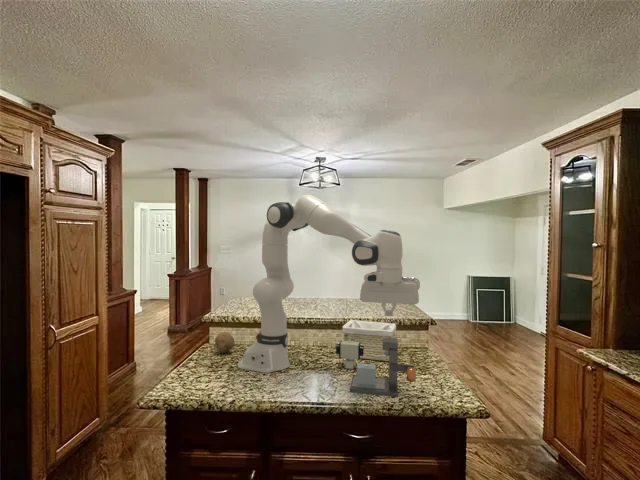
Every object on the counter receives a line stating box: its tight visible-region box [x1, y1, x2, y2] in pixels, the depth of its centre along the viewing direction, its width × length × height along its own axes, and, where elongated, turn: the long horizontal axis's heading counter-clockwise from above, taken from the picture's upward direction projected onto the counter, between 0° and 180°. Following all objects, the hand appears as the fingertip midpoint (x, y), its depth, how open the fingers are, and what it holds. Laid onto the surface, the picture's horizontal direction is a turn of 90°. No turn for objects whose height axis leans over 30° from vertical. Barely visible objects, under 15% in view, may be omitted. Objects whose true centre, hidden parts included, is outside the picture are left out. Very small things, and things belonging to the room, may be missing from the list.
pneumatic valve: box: [335, 340, 364, 370], centre depth 155 cm, size 6×12×12 cm, turn 78°
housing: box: [356, 362, 377, 385], centre depth 136 cm, size 7×5×6 cm
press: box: [349, 338, 416, 398], centre depth 135 cm, size 23×14×18 cm, turn 79°
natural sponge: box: [214, 331, 236, 354], centre depth 172 cm, size 9×9×10 cm
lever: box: [406, 367, 417, 383], centre depth 126 cm, size 3×6×4 cm, turn 169°
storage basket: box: [342, 319, 397, 362], centre depth 172 cm, size 24×16×15 cm
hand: (388, 315), depth 126 cm, fingers closed
